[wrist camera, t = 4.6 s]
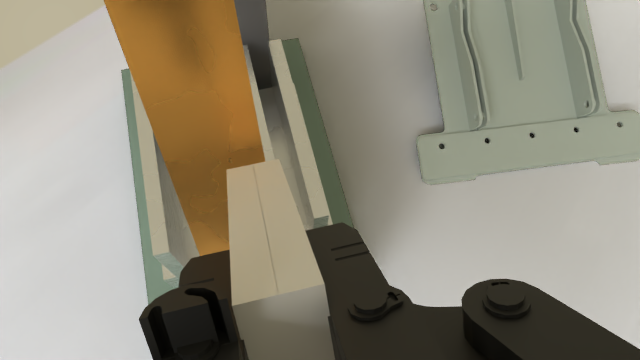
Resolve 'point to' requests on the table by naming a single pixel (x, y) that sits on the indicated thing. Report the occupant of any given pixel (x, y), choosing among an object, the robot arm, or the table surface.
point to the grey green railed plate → (316, 137)
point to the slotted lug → (255, 38)
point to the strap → (193, 100)
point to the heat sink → (278, 143)
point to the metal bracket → (519, 91)
